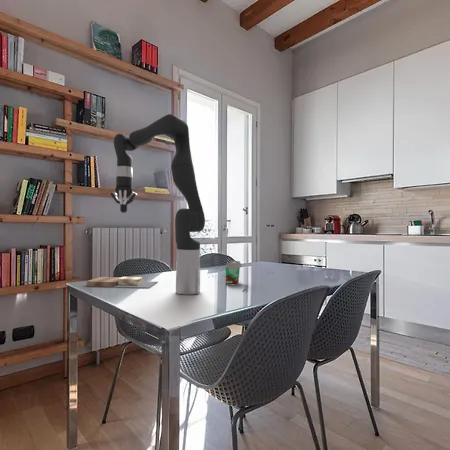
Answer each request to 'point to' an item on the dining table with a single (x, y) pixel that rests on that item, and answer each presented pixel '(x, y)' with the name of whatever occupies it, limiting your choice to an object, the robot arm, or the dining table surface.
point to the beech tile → (130, 280)
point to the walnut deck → (104, 281)
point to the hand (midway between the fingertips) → (123, 212)
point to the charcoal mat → (143, 285)
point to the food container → (232, 272)
